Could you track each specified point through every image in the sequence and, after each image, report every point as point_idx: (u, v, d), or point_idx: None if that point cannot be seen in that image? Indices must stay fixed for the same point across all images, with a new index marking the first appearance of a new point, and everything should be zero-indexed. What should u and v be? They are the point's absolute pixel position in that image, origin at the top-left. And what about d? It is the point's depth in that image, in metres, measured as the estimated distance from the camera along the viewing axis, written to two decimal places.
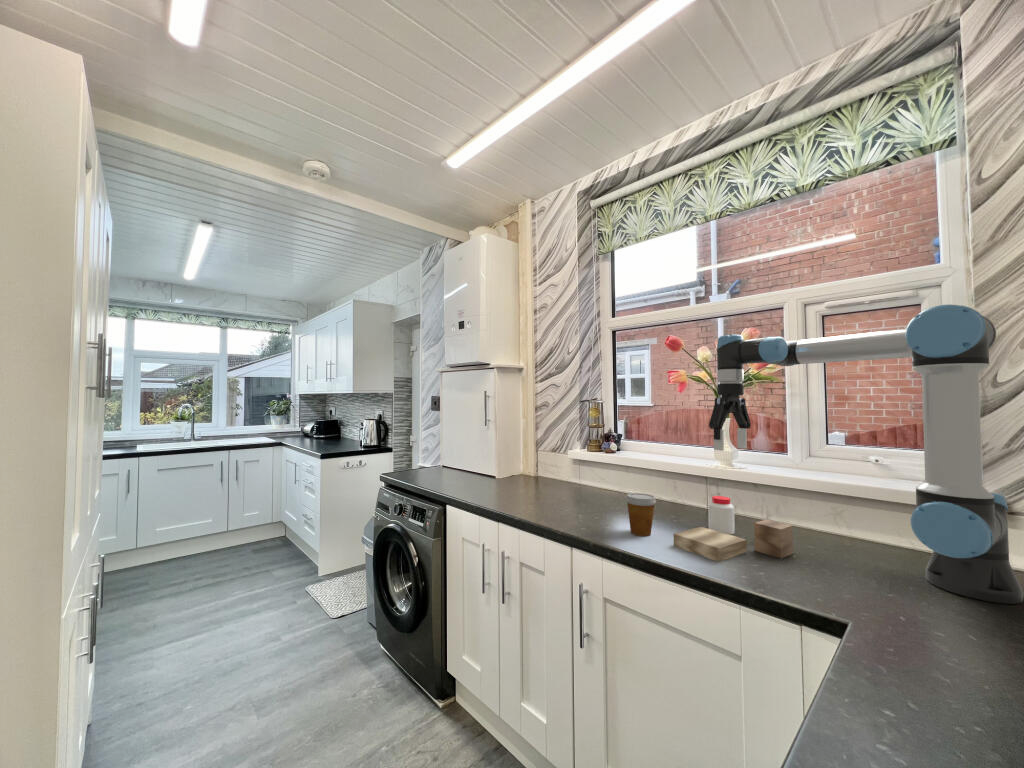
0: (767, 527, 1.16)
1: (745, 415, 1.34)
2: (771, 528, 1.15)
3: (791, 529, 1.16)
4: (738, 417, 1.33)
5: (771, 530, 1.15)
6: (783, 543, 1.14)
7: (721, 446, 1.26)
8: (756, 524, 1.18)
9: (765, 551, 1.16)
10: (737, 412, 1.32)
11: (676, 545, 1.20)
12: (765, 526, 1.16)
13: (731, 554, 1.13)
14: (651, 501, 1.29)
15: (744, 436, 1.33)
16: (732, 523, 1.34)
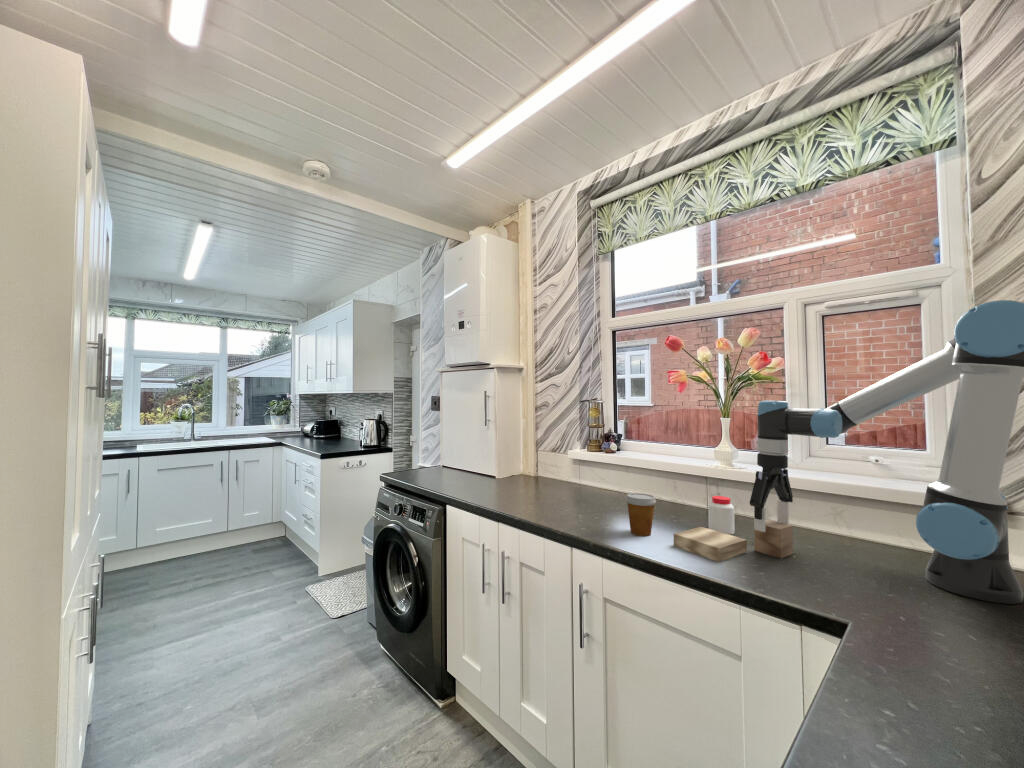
0: (767, 527, 1.16)
1: (787, 487, 1.22)
2: (771, 528, 1.15)
3: (791, 529, 1.16)
4: (780, 490, 1.21)
5: (771, 531, 1.15)
6: (783, 543, 1.14)
7: (763, 527, 1.13)
8: None
9: (765, 551, 1.16)
10: (779, 485, 1.20)
11: (676, 545, 1.20)
12: None
13: (731, 554, 1.13)
14: (651, 501, 1.29)
15: (786, 511, 1.21)
16: (732, 523, 1.34)
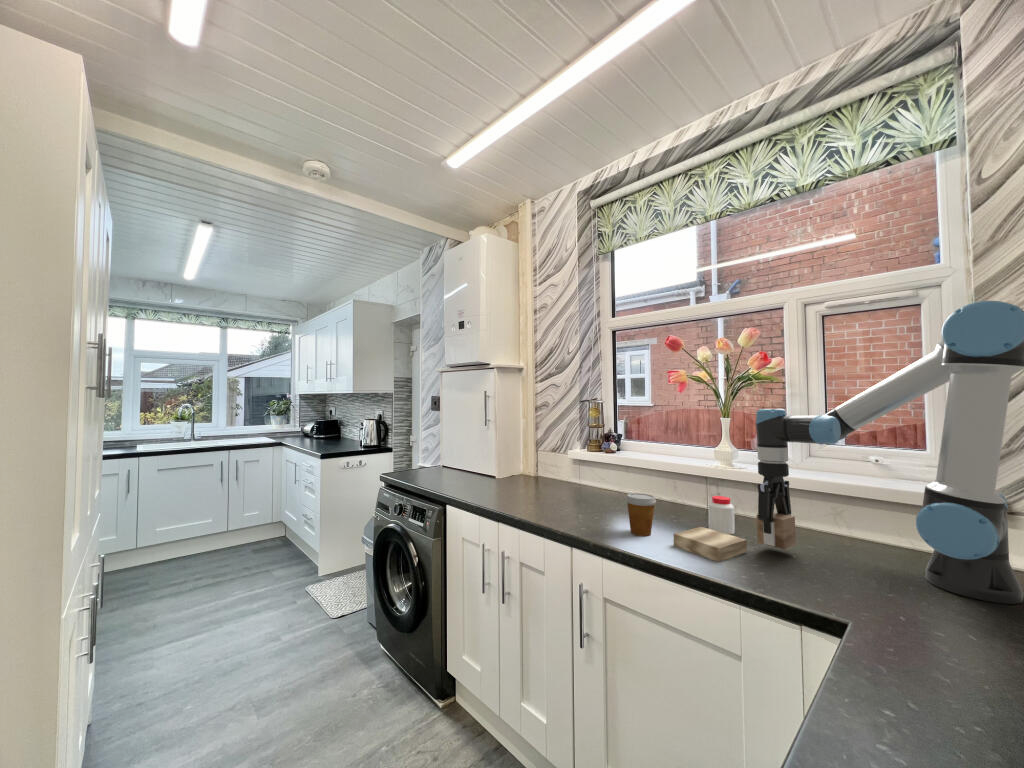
0: None
1: (787, 500, 1.20)
2: (773, 519, 1.15)
3: (794, 520, 1.16)
4: (779, 501, 1.19)
5: None
6: (786, 534, 1.13)
7: (772, 541, 1.14)
8: None
9: None
10: (779, 495, 1.18)
11: (676, 545, 1.20)
12: None
13: (731, 554, 1.13)
14: (651, 501, 1.29)
15: None
16: (732, 523, 1.34)
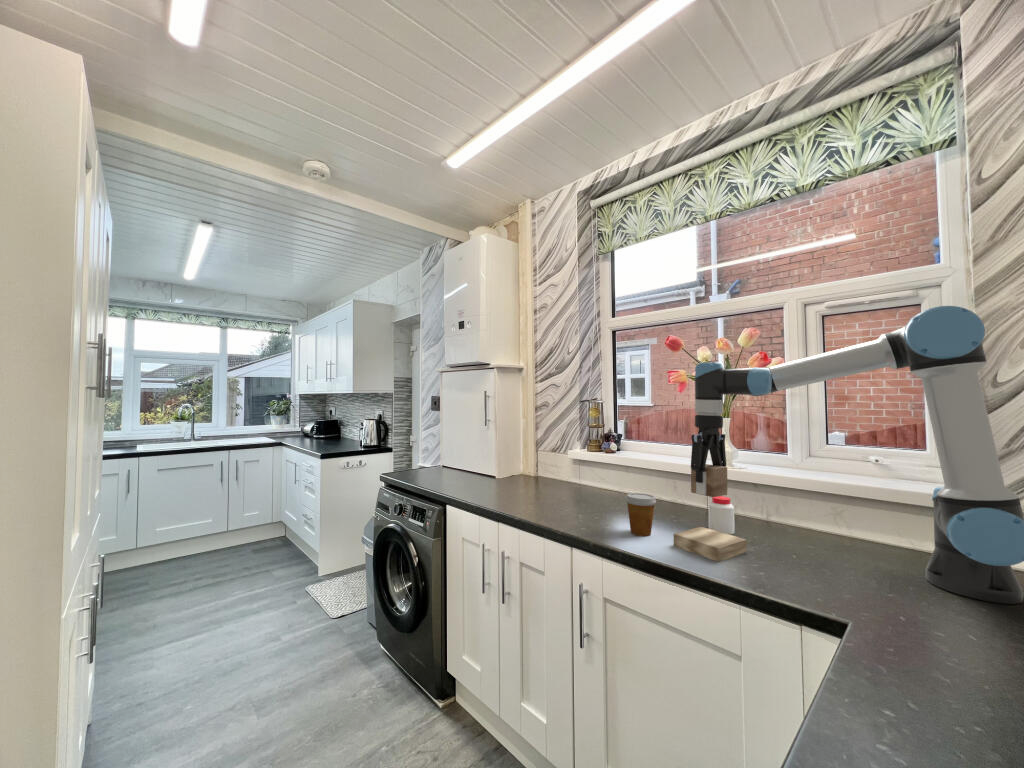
0: None
1: (722, 453, 1.23)
2: (705, 469, 1.17)
3: (726, 470, 1.19)
4: (714, 453, 1.22)
5: (705, 471, 1.17)
6: (716, 483, 1.16)
7: (703, 490, 1.17)
8: None
9: None
10: (714, 447, 1.21)
11: (676, 545, 1.20)
12: None
13: (731, 554, 1.13)
14: (651, 501, 1.29)
15: None
16: (732, 523, 1.34)
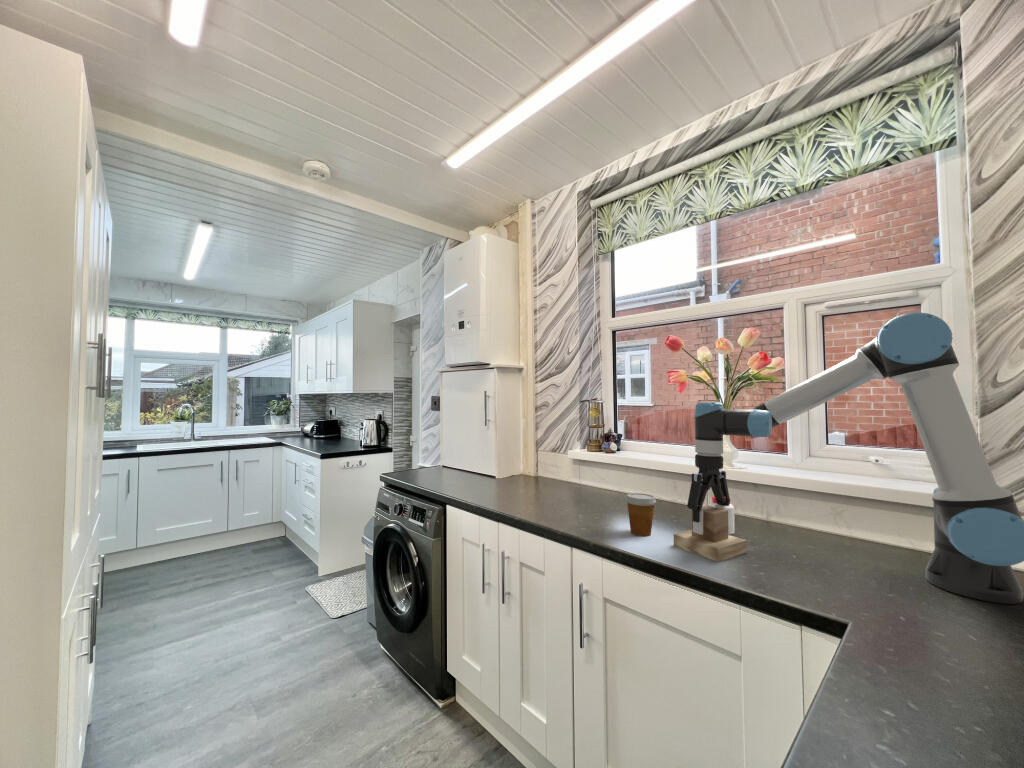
0: None
1: (724, 490, 1.23)
2: (706, 513, 1.17)
3: (727, 514, 1.18)
4: (717, 492, 1.22)
5: (706, 515, 1.17)
6: (717, 527, 1.15)
7: (700, 529, 1.15)
8: None
9: (701, 536, 1.18)
10: (716, 486, 1.21)
11: (676, 545, 1.20)
12: None
13: (731, 555, 1.13)
14: (651, 501, 1.29)
15: None
16: (732, 523, 1.34)
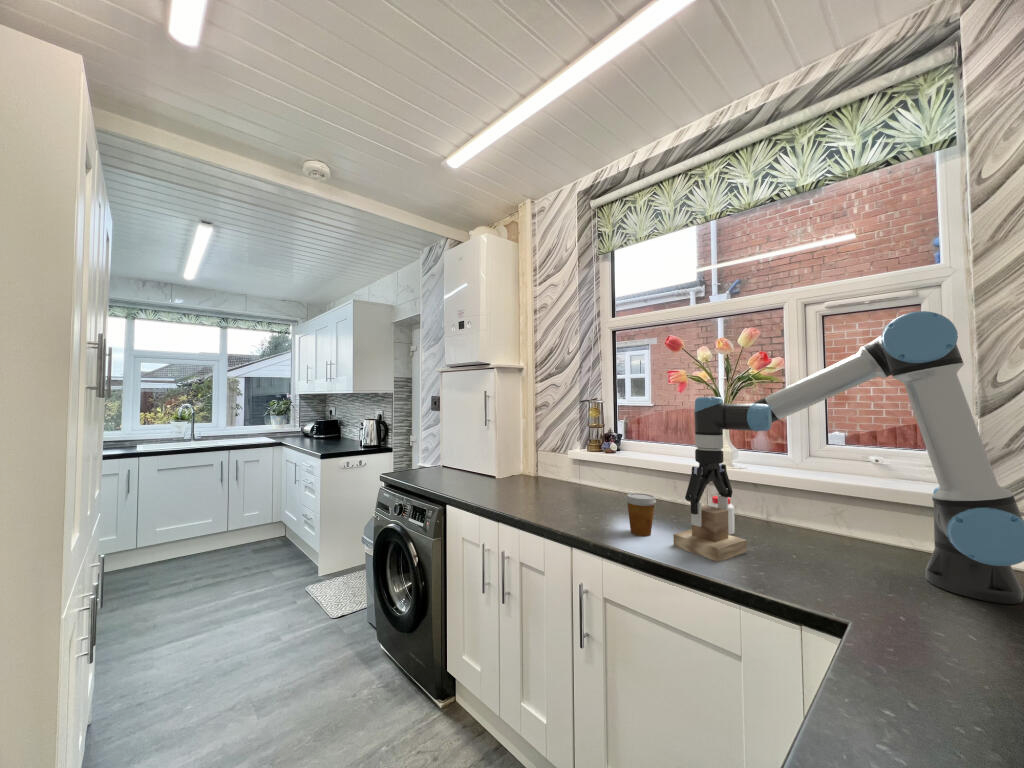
0: (703, 512, 1.18)
1: (726, 482, 1.23)
2: (706, 513, 1.17)
3: (727, 514, 1.18)
4: (718, 485, 1.22)
5: (706, 515, 1.17)
6: (717, 527, 1.16)
7: (699, 521, 1.15)
8: None
9: (701, 535, 1.18)
10: (717, 480, 1.21)
11: (676, 545, 1.20)
12: (701, 511, 1.18)
13: (731, 555, 1.13)
14: (651, 501, 1.29)
15: (725, 506, 1.22)
16: (732, 523, 1.34)
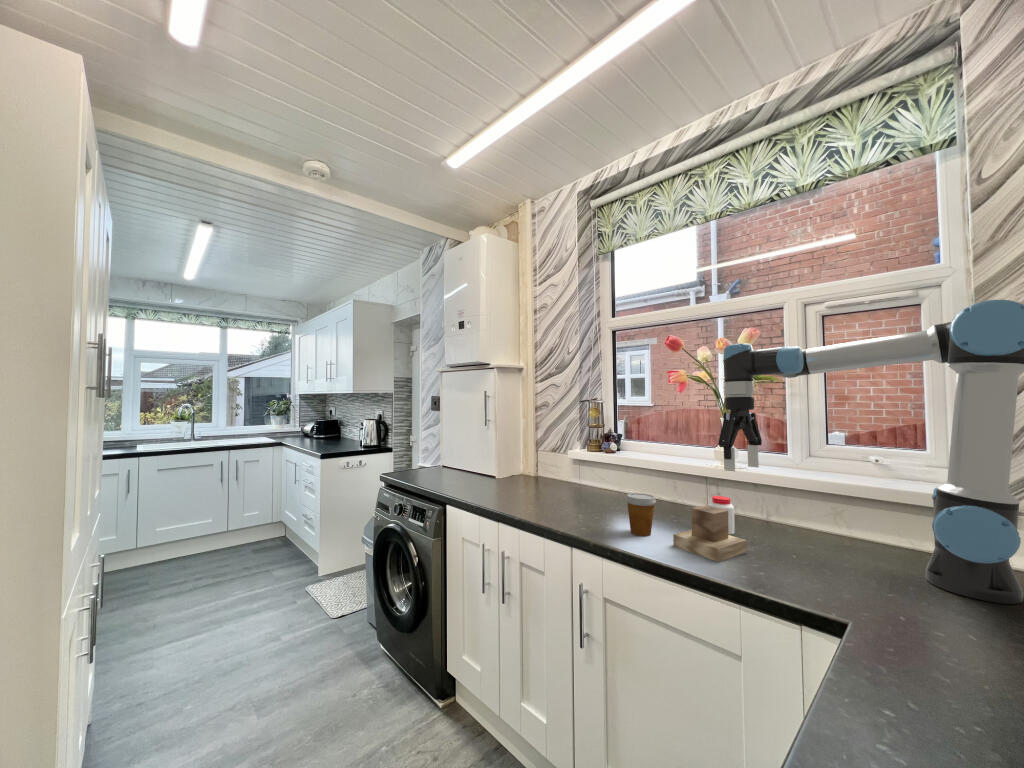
0: (702, 512, 1.18)
1: (756, 431, 1.23)
2: (706, 513, 1.17)
3: (727, 514, 1.18)
4: (748, 433, 1.22)
5: (705, 515, 1.17)
6: (717, 527, 1.16)
7: (732, 466, 1.14)
8: (693, 509, 1.20)
9: (700, 535, 1.18)
10: (747, 428, 1.21)
11: (676, 546, 1.20)
12: (700, 511, 1.18)
13: (731, 555, 1.13)
14: (651, 501, 1.29)
15: (755, 454, 1.22)
16: (732, 523, 1.34)
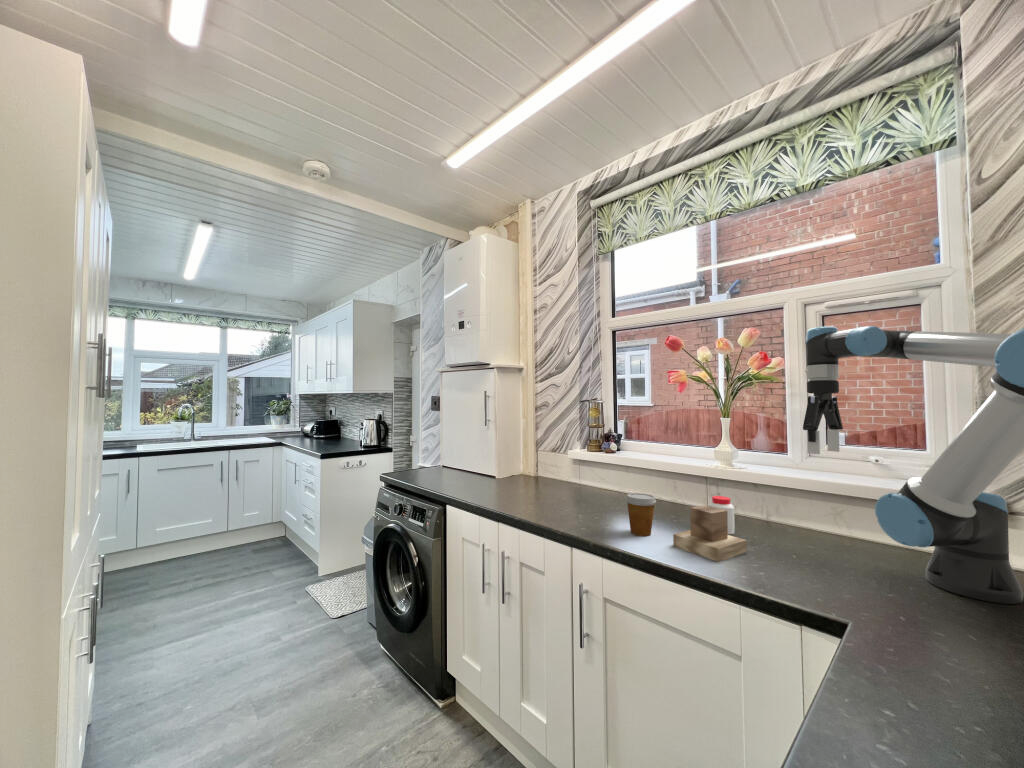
0: (701, 511, 1.18)
1: (837, 415, 1.23)
2: (704, 512, 1.17)
3: (726, 514, 1.18)
4: (830, 417, 1.22)
5: (704, 515, 1.17)
6: (715, 527, 1.16)
7: (817, 449, 1.14)
8: (692, 509, 1.21)
9: (699, 535, 1.18)
10: (829, 412, 1.21)
11: (676, 545, 1.20)
12: (699, 510, 1.19)
13: (730, 555, 1.13)
14: (651, 501, 1.29)
15: (836, 438, 1.22)
16: (732, 523, 1.34)
